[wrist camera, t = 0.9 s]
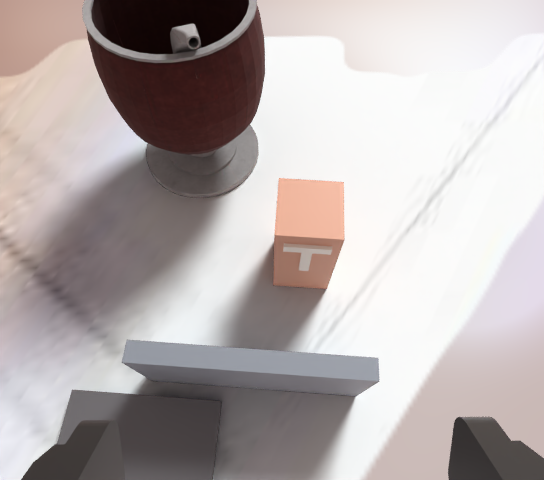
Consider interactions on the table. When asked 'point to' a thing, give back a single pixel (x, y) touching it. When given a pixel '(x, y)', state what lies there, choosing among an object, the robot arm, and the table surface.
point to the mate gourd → (184, 84)
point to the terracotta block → (307, 232)
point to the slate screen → (252, 368)
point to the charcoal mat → (153, 432)
